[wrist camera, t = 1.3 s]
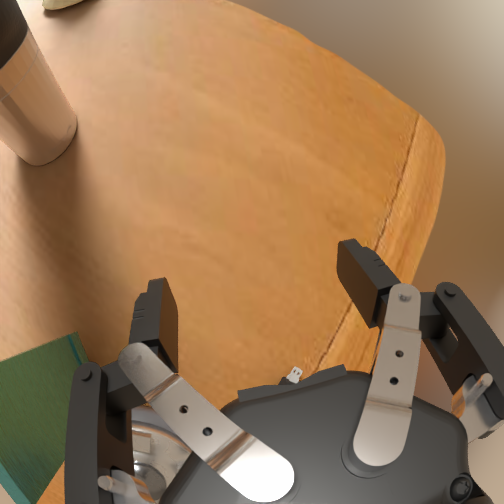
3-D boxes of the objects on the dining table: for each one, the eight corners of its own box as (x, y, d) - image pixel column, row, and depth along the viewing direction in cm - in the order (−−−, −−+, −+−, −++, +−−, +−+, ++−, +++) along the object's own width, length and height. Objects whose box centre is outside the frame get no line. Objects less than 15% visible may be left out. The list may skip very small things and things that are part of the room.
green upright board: (225, 495, 26) (258, 608, 8) (123, 515, 23) (106, 613, 4) (129, 312, 27) (38, 354, 9) (22, 349, 23) (-91, 391, 5)
